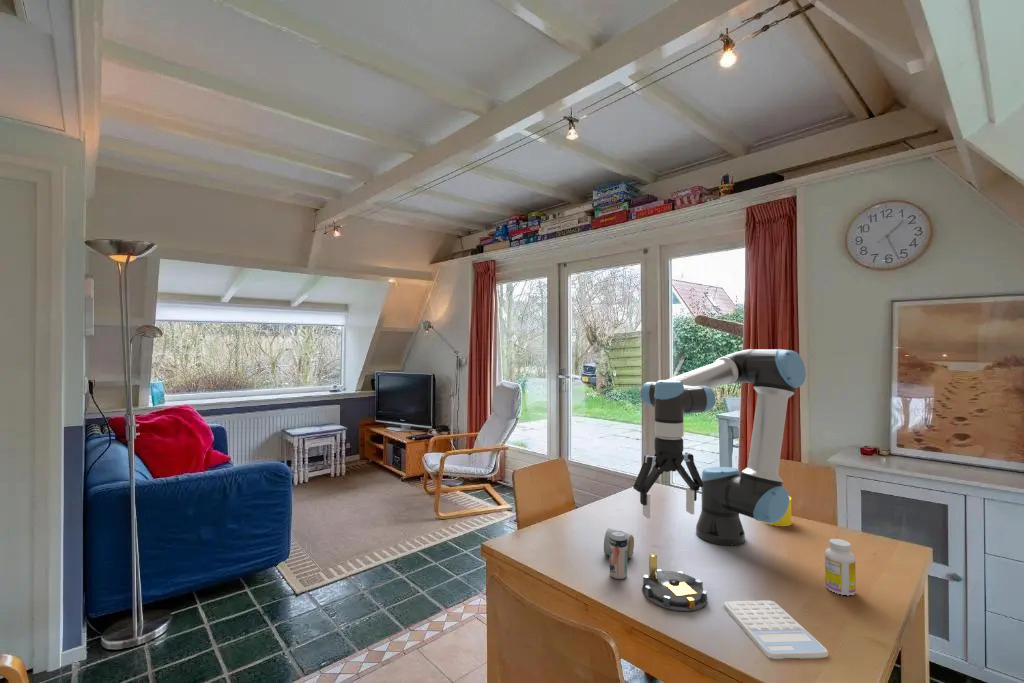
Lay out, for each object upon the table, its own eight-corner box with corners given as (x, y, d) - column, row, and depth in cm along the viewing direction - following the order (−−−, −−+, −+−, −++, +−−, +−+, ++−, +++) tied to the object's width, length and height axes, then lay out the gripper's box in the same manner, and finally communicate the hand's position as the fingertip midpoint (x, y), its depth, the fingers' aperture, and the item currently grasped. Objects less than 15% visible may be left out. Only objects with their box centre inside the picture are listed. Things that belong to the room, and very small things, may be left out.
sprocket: (652, 570, 133) (652, 542, 133) (711, 586, 124) (711, 556, 124) (635, 596, 119) (635, 565, 119) (700, 616, 111) (700, 582, 111)
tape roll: (758, 522, 170) (758, 497, 170) (761, 514, 178) (761, 490, 178) (790, 529, 164) (790, 502, 164) (792, 520, 173) (792, 494, 173)
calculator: (773, 606, 117) (773, 598, 117) (831, 660, 97) (831, 650, 97) (721, 607, 117) (721, 599, 117) (769, 661, 97) (769, 652, 97)
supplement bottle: (850, 586, 126) (850, 538, 126) (859, 599, 120) (859, 549, 120) (821, 582, 128) (821, 535, 128) (829, 594, 122) (829, 545, 122)
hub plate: (690, 578, 130) (690, 576, 130) (719, 611, 114) (719, 609, 114) (634, 579, 129) (634, 577, 129) (654, 612, 113) (654, 610, 113)
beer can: (607, 572, 133) (607, 530, 133) (623, 571, 134) (623, 529, 134) (612, 580, 129) (612, 537, 129) (629, 580, 129) (629, 536, 129)
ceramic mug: (630, 563, 138) (630, 537, 139) (603, 558, 142) (603, 532, 142) (636, 550, 148) (636, 525, 148) (611, 545, 152) (611, 521, 152)
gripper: (700, 432, 134) (700, 506, 134) (621, 436, 129) (620, 513, 129) (717, 437, 127) (717, 515, 127) (634, 441, 121) (633, 523, 121)
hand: (668, 514), depth 128 cm, fingers open, 13 cm apart
